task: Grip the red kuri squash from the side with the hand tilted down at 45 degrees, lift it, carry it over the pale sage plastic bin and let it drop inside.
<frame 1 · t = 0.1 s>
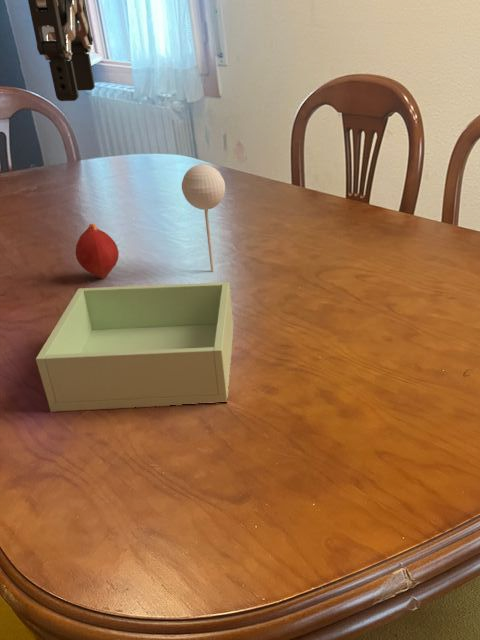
hand: (77, 95, 74), 25 cm above the table, tool pointing down, fingers open, 8 cm apart
red kuri squash: (102, 279, 96), on the table
bin: (151, 365, 73), on the table
lollipop: (212, 272, 98), on the table
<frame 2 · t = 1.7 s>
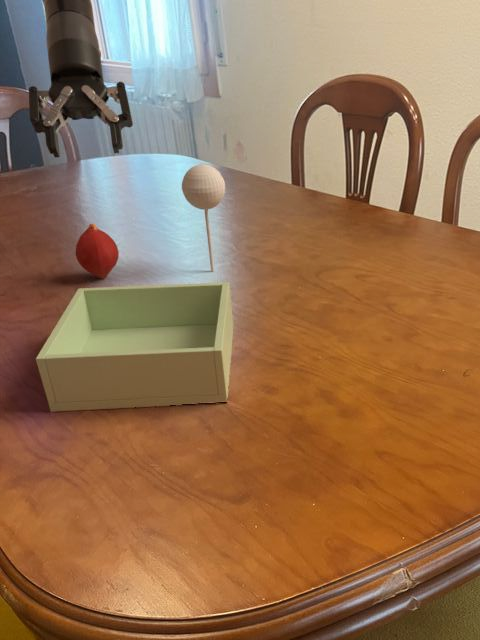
hand: (86, 152, 96), 15 cm above the table, tool tilted 45°, fingers open, 8 cm apart
nothing on the table moved.
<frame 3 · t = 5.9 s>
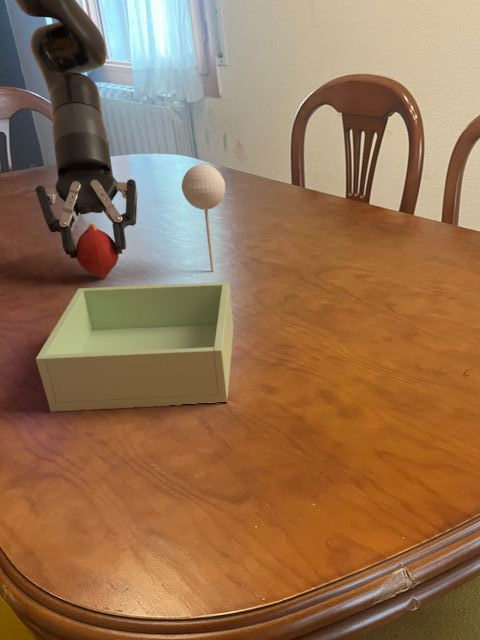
hand: (96, 253, 92), 4 cm above the table, tool tilted 45°, fingers closed on red kuri squash, 5 cm apart
red kuri squash: (102, 279, 96), on the table, touching gripper
everything else where it was.
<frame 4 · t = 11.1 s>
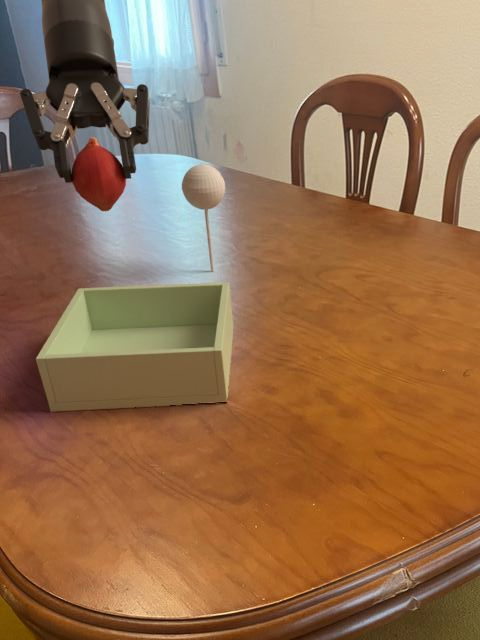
hand: (98, 176, 72), 18 cm above the table, tool tilted 45°, fingers closed on red kuri squash, 5 cm apart
red kuri squash: (105, 212, 76), point 14 cm above the table, touching gripper
everything else where it was.
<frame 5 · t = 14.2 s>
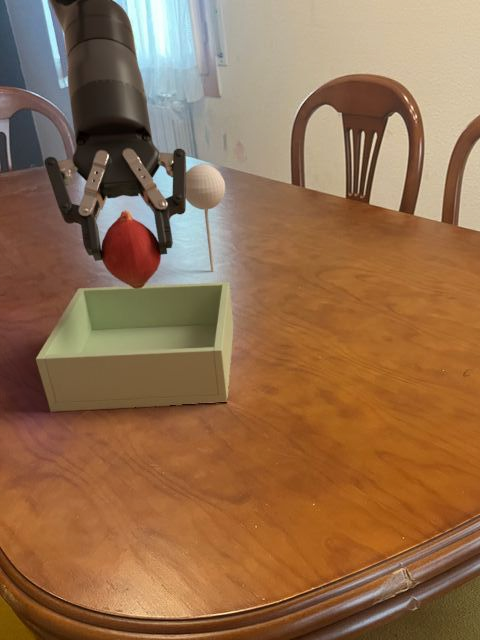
hand: (130, 253, 65), 13 cm above the table, tool tilted 45°, fingers closed on red kuri squash, 5 cm apart
red kuri squash: (138, 289, 68), point 9 cm above the table, touching gripper
everything else where it was.
when the fingers open (7 cm above the table, at t = 16.6 s): red kuri squash drops 2 cm, resting on bin.
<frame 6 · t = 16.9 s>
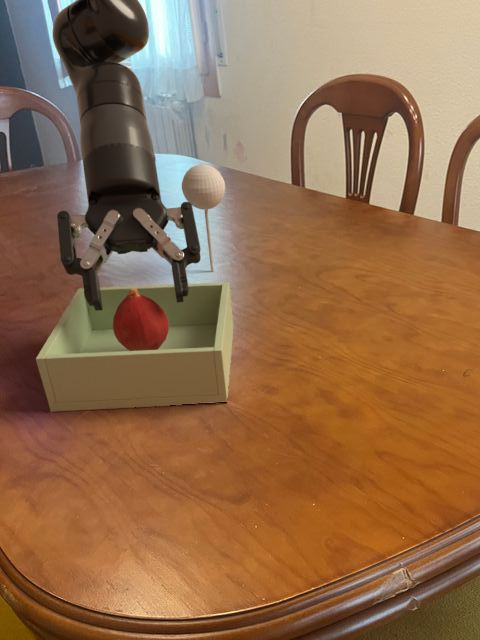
hand: (139, 303, 68), 8 cm above the table, tool tilted 45°, fingers open, 8 cm apart
red kuri squash: (149, 358, 73), point 1 cm above the table, touching bin
everything else where it was.
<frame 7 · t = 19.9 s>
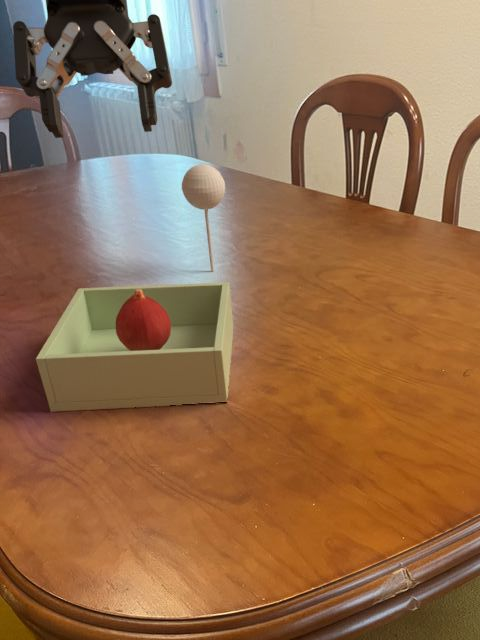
hand: (102, 131, 64), 24 cm above the table, tool tilted 35°, fingers open, 8 cm apart
nothing on the table moved.
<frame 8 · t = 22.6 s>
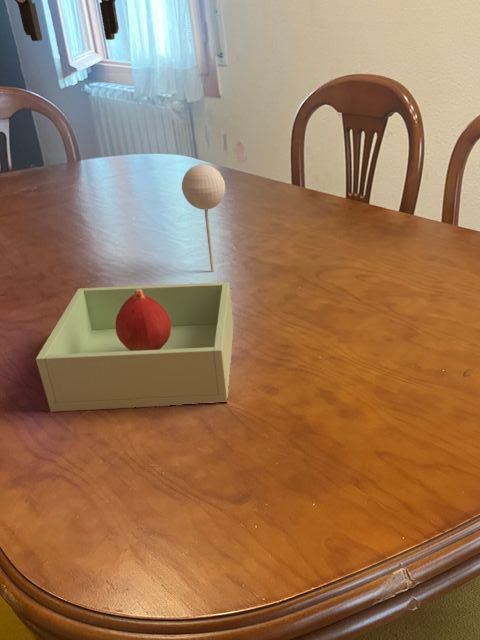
hand: (74, 40, 78), 30 cm above the table, tool pointing down, fingers open, 8 cm apart
nothing on the table moved.
at the end: red kuri squash inside the target area in the bin (0.3 cm from its centre), point 0.8 cm above the bin's base; the gripper is holding nothing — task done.
